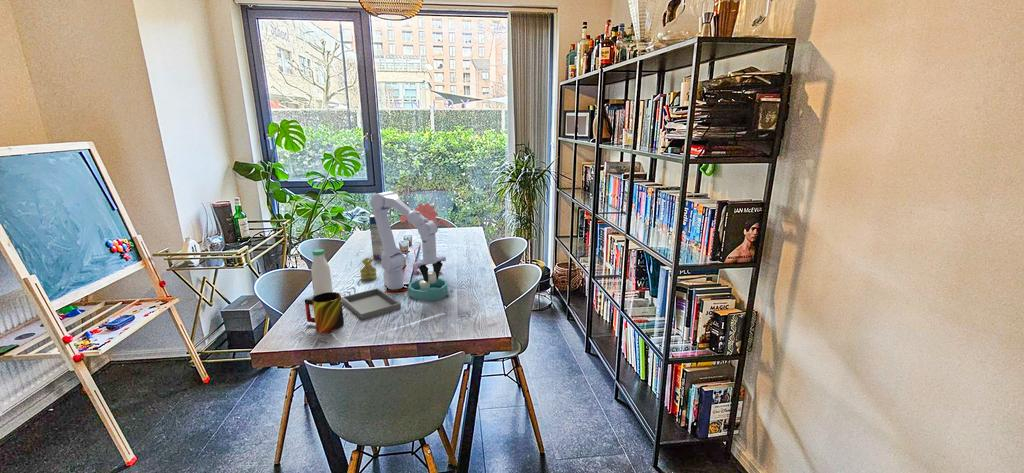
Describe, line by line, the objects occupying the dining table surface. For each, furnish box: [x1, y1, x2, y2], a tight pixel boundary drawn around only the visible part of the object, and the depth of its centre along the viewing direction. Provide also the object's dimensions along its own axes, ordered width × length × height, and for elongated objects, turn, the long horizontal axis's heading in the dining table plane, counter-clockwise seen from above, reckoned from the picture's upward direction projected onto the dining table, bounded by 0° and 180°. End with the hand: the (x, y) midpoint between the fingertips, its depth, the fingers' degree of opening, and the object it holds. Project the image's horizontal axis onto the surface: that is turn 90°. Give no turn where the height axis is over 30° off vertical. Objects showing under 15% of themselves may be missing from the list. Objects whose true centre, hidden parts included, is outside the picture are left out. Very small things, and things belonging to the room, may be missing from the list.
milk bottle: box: [310, 248, 334, 297], centre depth 191 cm, size 8×8×20 cm
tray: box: [341, 287, 402, 321], centre depth 179 cm, size 22×16×3 cm
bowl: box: [407, 277, 449, 302], centre depth 192 cm, size 17×17×4 cm
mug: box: [304, 291, 345, 334], centre depth 160 cm, size 10×14×12 cm
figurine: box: [399, 202, 451, 276], centre depth 219 cm, size 15×26×35 cm, turn 82°
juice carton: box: [368, 212, 384, 260], centre depth 245 cm, size 12×8×24 cm, turn 10°
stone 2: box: [426, 271, 437, 284], centre depth 188 cm, size 4×4×4 cm
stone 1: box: [420, 280, 430, 291], centre depth 194 cm, size 4×4×4 cm
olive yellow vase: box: [359, 257, 377, 281], centre depth 211 cm, size 7×7×10 cm
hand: (431, 279), depth 188 cm, fingers closed on stone 2, 4 cm apart
